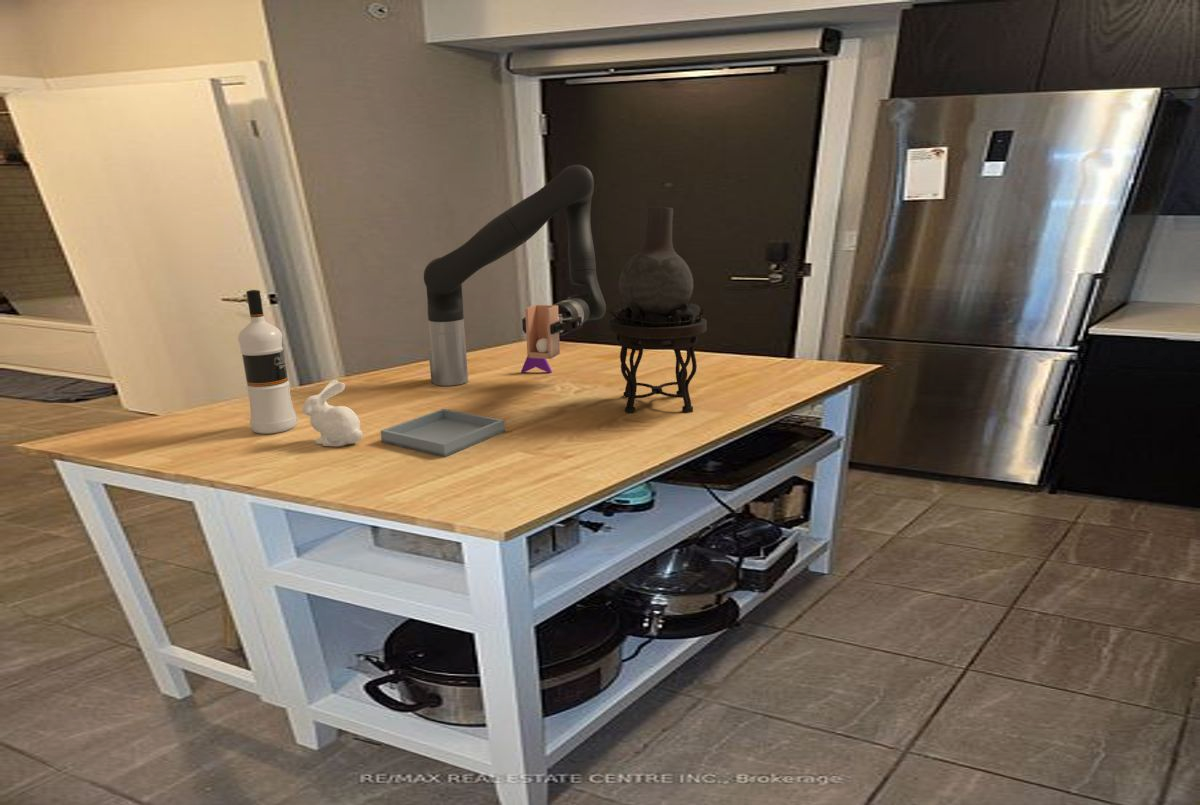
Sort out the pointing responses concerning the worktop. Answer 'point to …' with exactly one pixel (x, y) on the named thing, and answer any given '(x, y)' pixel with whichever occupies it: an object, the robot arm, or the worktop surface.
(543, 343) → the ball
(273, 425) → the vodka
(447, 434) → the tray
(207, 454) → the worktop surface
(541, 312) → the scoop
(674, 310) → the brazier
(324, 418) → the rabbit
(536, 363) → the arrowhead
